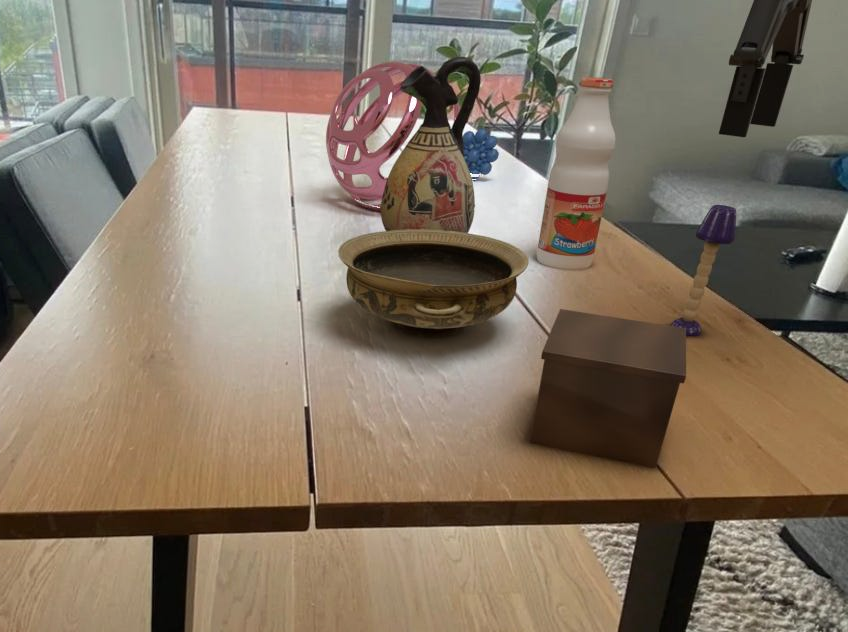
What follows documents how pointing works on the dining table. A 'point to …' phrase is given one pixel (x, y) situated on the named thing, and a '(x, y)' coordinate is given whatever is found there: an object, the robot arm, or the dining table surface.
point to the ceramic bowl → (432, 277)
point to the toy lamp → (707, 261)
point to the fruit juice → (578, 180)
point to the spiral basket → (370, 129)
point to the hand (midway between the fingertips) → (747, 130)
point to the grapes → (479, 151)
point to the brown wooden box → (608, 386)
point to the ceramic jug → (433, 158)
